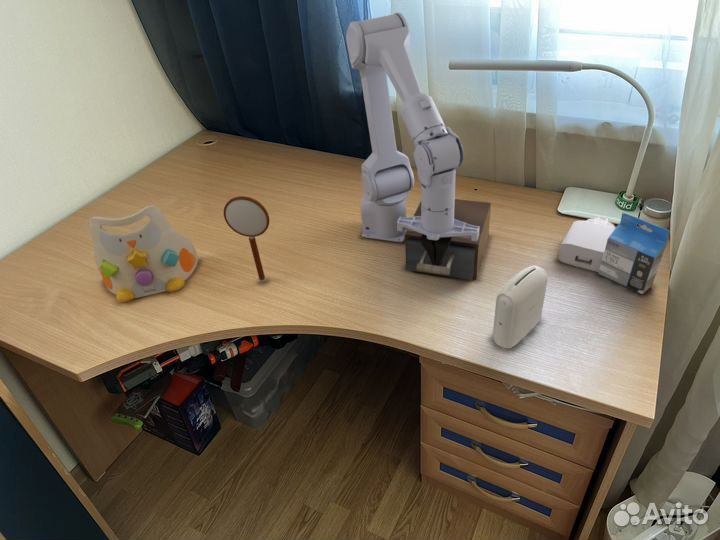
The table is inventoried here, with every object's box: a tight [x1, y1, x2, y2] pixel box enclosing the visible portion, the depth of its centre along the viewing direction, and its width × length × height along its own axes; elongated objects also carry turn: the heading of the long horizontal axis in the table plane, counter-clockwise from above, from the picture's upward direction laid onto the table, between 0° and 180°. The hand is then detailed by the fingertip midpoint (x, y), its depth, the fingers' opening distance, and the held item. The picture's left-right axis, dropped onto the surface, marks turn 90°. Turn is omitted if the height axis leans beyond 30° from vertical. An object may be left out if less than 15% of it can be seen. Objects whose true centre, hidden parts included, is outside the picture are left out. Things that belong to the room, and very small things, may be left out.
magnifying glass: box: [223, 195, 270, 283], centre depth 103 cm, size 9×2×20 cm, turn 80°
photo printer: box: [492, 264, 549, 349], centre depth 89 cm, size 10×4×12 cm, turn 133°
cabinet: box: [404, 198, 492, 281], centre depth 109 cm, size 15×14×9 cm
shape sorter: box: [88, 204, 199, 303], centre depth 106 cm, size 20×10×18 cm, turn 105°
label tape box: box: [597, 212, 671, 295], centre depth 97 cm, size 9×4×12 cm, turn 40°
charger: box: [558, 216, 616, 273], centre depth 108 cm, size 5×9×15 cm
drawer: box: [406, 239, 475, 281], centre depth 106 cm, size 19×13×7 cm
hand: (437, 265), depth 101 cm, fingers closed, pressing on drawer
